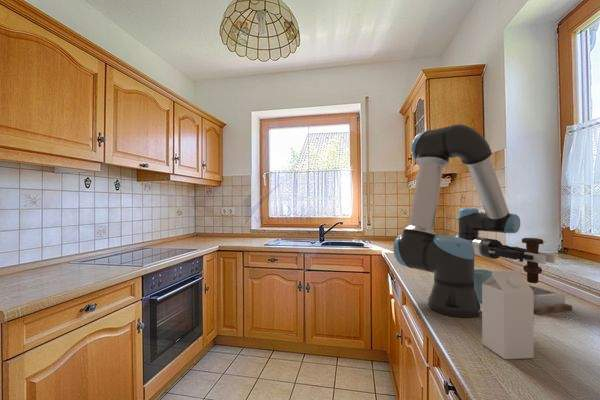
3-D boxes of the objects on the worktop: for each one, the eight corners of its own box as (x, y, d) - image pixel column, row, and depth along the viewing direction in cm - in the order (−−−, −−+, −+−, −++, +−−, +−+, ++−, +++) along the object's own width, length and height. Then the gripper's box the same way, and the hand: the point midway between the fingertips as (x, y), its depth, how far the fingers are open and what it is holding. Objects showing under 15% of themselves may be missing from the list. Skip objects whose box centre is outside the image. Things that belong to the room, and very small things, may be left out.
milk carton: (481, 344, 72) (481, 267, 73) (508, 343, 73) (508, 267, 73) (504, 360, 65) (504, 274, 65) (534, 358, 66) (533, 274, 66)
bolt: (546, 285, 97) (546, 240, 97) (529, 284, 98) (528, 239, 98) (536, 280, 103) (535, 237, 103) (519, 279, 104) (519, 237, 104)
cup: (489, 297, 107) (489, 269, 107) (501, 305, 100) (501, 274, 100) (467, 297, 108) (467, 268, 108) (477, 304, 101) (477, 274, 101)
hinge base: (535, 314, 92) (535, 298, 92) (496, 299, 105) (496, 285, 105) (572, 310, 95) (572, 294, 95) (529, 296, 109) (529, 283, 109)
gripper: (504, 256, 120) (568, 269, 97) (470, 258, 116) (529, 272, 93) (503, 237, 120) (568, 246, 97) (470, 239, 116) (529, 249, 93)
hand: (549, 259), depth 95 cm, fingers closed on bolt, 3 cm apart
